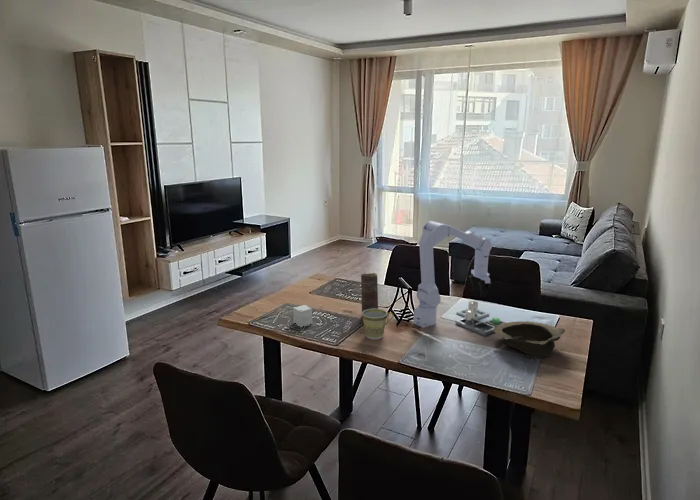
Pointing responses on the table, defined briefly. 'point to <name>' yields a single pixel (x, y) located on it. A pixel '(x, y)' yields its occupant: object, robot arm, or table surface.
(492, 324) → the button housing
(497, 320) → the button
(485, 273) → the robot arm
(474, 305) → the billet
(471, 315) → the billet
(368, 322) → the ceramic cup
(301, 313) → the skincare box
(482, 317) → the grey square frame
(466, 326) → the pallet
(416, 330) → the table surface
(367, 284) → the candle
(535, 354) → the stone bowl
